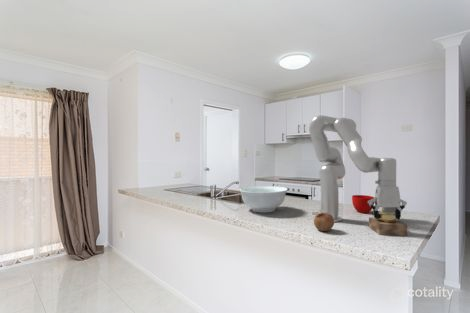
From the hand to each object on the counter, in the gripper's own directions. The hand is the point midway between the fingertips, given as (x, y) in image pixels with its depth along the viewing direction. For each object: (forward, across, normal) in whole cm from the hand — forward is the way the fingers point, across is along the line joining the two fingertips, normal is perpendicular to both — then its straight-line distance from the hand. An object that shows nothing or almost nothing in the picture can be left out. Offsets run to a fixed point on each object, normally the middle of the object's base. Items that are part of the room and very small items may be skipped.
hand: (386, 218), depth 123 cm
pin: (+6, 0, 0) cm, 6 cm away
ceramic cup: (+6, +6, +41) cm, 42 cm away
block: (+6, 0, 0) cm, 6 cm away
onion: (+6, -30, -2) cm, 31 cm away
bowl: (+6, -60, +40) cm, 72 cm away
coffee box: (+6, +12, +24) cm, 28 cm away
